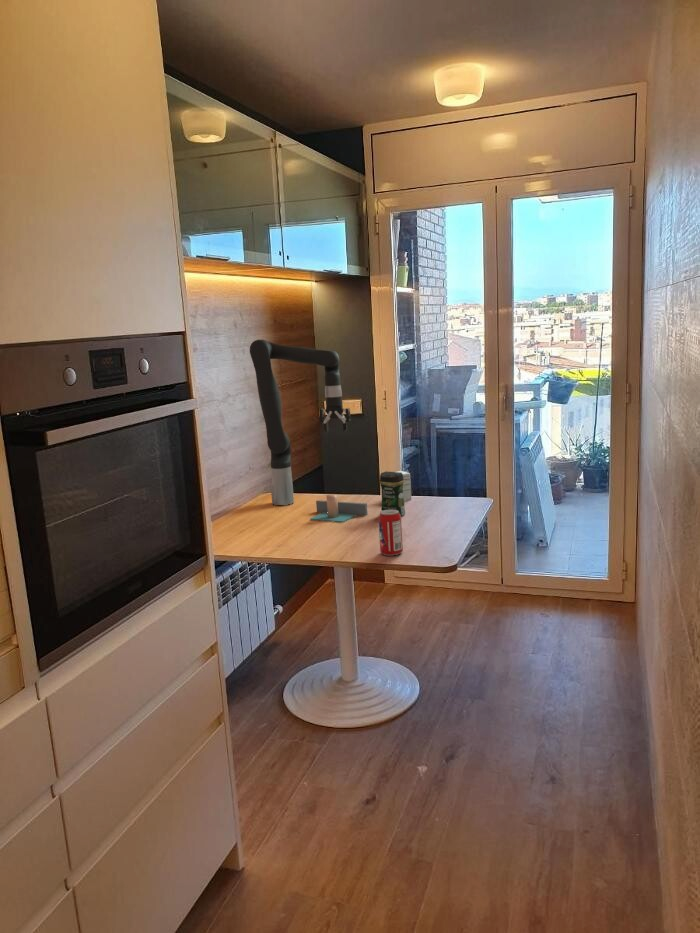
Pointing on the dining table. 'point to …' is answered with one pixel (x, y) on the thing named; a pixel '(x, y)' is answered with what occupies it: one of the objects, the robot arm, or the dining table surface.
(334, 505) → the tan domed capsule
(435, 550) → the dining table surface
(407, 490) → the supplement box
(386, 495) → the coffee jar
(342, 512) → the low wall
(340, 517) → the teal mat
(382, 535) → the soda can
